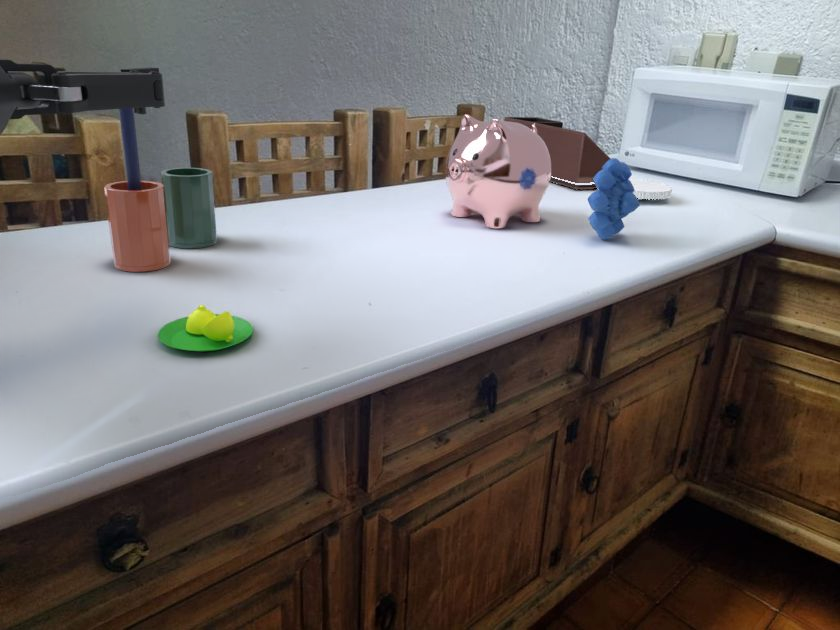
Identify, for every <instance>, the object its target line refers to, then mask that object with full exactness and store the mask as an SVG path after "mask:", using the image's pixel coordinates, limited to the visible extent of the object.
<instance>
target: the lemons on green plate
mask: <svg viewBox="0 0 840 630" xmlns="http://www.w3.org/2000/svg"><path fill="white" fill-rule="evenodd" d="M253 327H254V326H253V325H252V324H251V322H249V321H248V320H246V319H244V318H242V317H238V316H234V315H232V314H231V313H230V311H229V310H226V311H223V312H221V313H214V312H213V310H210V309H208V308H207V307H206V306H205V305H204V304H200V305H198V306H197V308H195V310H193V311H192V312H191V313H190V314H189V315H188V316H185V317H182V318H178V319H174V320H173V321H170V322H168V323H166V324H165V325H163V326H162V327H161V328H159V330H158V332H157V338H158V340H159V341H160V342H161V344H163V345H164V346H167V347H170V348H173V349H178V350H182V351H185V352H186V351H187V352H193V353H195V352H197V353H205V352H216V351H220V350H225V349H227V348H230V347H232V346H235V345H237V344H238V345H239V344H240V343H241V342H245V340H247V339H248V338H250V336H251V335H252V334H253V332H254V328H253Z"/></svg>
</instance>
